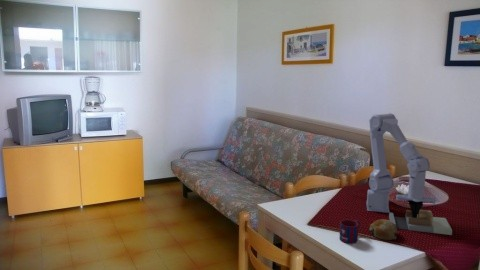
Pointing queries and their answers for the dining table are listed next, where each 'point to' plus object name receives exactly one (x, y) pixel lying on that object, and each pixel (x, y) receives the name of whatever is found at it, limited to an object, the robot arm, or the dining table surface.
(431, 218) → the wooden block
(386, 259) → the dining table surface
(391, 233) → the bread roll
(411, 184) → the robot arm
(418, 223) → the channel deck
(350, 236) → the mug
